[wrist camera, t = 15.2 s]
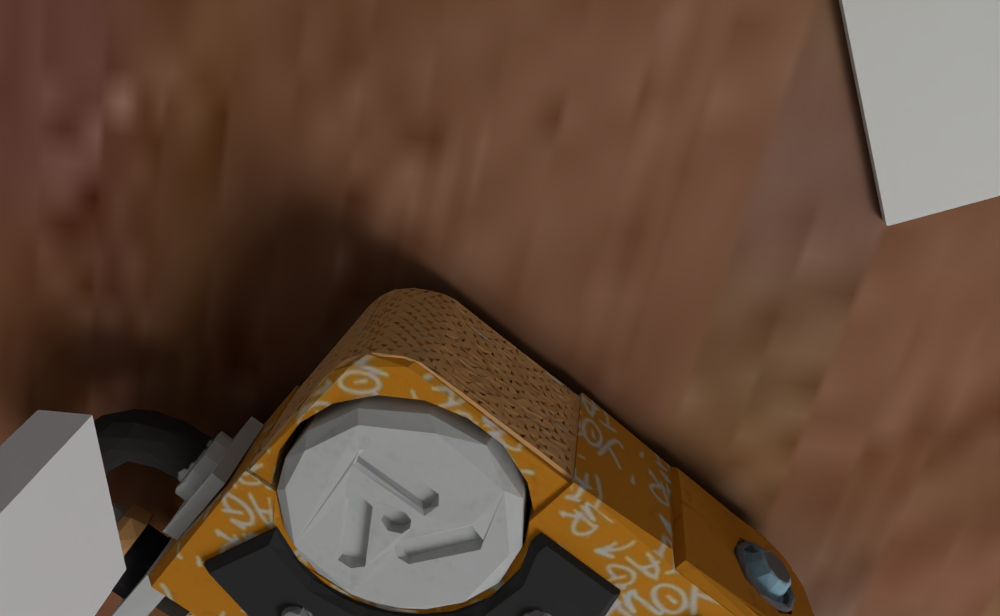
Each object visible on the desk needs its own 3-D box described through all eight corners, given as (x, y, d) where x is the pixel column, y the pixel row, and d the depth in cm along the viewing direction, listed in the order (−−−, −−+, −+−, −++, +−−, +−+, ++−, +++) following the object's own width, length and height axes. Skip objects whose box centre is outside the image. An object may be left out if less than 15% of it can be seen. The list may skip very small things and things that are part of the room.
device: (496, 917, 42) (-49, 581, 37) (515, 763, 50) (64, 464, 44) (866, 699, 33) (211, 202, 27) (822, 549, 40) (299, 133, 35)
